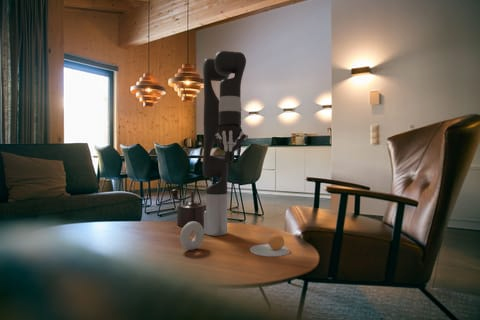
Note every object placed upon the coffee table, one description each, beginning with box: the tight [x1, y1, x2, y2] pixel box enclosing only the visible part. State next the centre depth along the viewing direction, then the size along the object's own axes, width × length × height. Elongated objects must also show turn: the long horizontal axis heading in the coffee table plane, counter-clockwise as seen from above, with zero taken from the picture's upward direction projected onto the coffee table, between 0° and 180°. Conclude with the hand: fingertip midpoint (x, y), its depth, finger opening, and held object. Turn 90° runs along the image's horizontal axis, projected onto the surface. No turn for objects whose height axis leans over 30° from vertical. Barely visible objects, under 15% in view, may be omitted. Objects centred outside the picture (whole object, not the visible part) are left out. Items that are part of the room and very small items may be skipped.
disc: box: [249, 243, 291, 257], centre depth 108 cm, size 14×14×1 cm
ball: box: [268, 233, 285, 250], centre depth 109 cm, size 6×6×6 cm
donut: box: [179, 221, 205, 251], centre depth 108 cm, size 10×4×10 cm, turn 139°
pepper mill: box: [169, 188, 206, 228], centre depth 148 cm, size 16×11×18 cm
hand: (229, 162), depth 104 cm, fingers closed
